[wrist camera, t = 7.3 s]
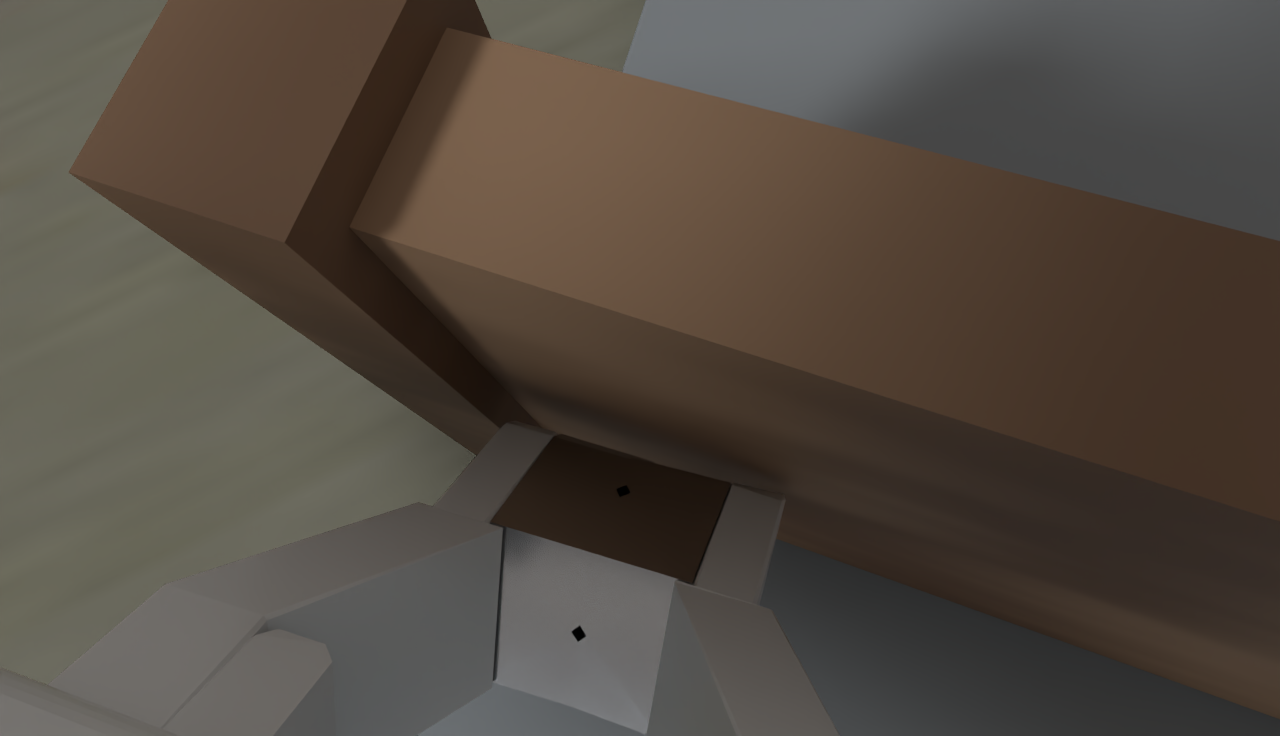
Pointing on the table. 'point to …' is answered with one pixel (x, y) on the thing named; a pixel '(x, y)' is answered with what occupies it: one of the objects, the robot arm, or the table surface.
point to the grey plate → (1023, 144)
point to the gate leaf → (746, 310)
